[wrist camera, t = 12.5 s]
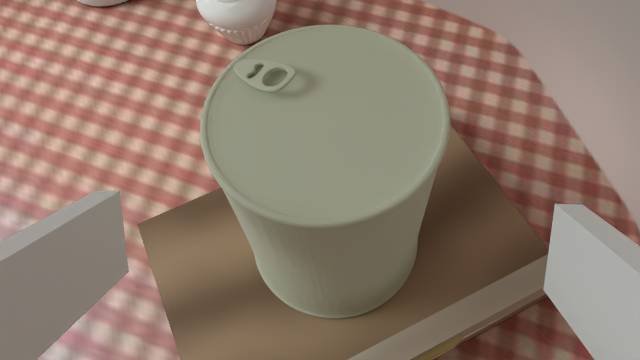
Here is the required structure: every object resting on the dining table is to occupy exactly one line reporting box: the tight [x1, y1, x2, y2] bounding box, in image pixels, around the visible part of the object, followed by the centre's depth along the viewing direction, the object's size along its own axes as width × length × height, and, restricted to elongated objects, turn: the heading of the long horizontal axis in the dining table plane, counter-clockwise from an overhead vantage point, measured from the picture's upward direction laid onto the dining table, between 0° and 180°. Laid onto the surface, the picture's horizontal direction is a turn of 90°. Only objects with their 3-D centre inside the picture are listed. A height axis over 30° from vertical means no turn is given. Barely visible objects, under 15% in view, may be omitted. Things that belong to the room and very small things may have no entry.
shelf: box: [138, 124, 549, 360], centre depth 27 cm, size 14×20×5 cm
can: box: [200, 25, 450, 319], centre depth 23 cm, size 9×9×12 cm
